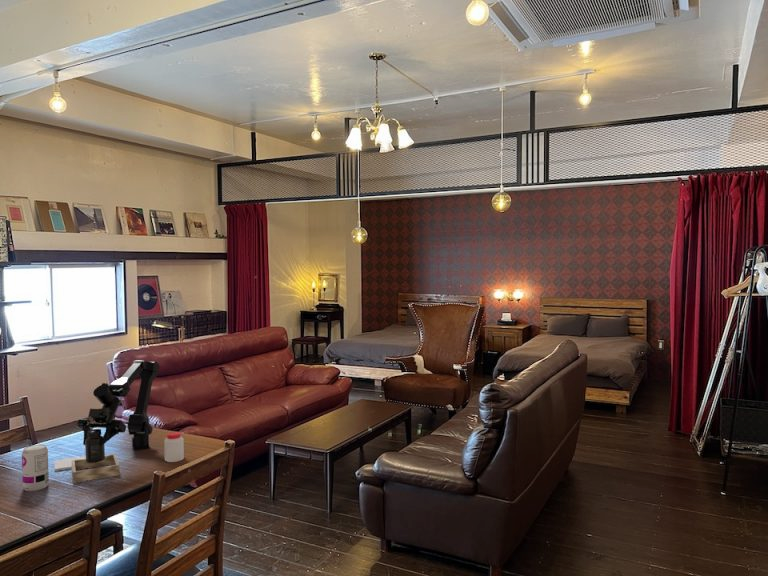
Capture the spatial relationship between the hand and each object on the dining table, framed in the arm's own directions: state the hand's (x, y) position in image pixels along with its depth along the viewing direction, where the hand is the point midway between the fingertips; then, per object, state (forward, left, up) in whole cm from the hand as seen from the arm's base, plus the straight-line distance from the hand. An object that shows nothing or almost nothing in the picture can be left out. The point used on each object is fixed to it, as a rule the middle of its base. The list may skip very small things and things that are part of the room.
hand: (92, 444), depth 224 cm
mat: (+7, -17, -12) cm, 22 cm away
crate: (-1, -1, -12) cm, 12 cm away
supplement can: (+19, +5, -12) cm, 23 cm away
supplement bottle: (-1, -1, -7) cm, 7 cm away
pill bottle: (-31, -2, -12) cm, 33 cm away
